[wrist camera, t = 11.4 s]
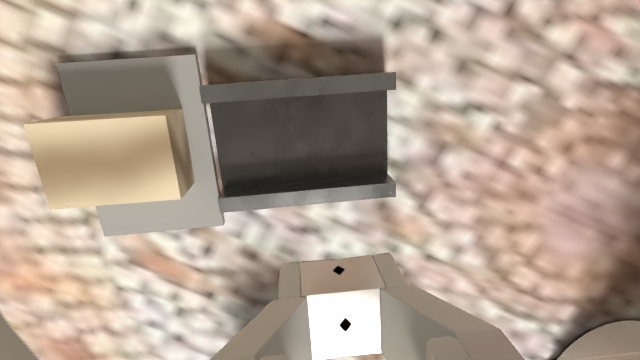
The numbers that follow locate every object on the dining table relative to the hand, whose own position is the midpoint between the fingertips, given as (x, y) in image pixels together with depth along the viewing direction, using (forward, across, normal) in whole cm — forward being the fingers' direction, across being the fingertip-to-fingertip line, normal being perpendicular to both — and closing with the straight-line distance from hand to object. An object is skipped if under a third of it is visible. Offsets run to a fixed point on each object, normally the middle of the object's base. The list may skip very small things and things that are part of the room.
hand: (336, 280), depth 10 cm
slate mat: (+20, +13, 0) cm, 24 cm away
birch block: (+20, +14, 0) cm, 24 cm away
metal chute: (+21, 0, 0) cm, 21 cm away
